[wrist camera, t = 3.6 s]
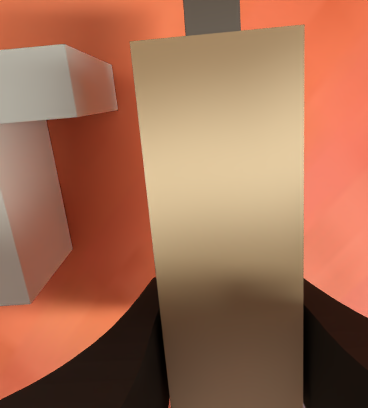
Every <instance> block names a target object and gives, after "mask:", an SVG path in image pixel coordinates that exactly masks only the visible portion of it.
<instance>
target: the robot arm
mask: <svg viewBox="0 0 368 408" xmlns="http://www.w3.org/2000/svg"><path fill="white" fill-rule="evenodd" d="M169 398H170V395H169V386H168V377H167V368H166V359H165V350H164V341H163V333H162V324H161V315H160V306H159V297H158V288H157V279H156V277H154V278H153V279H152V280H151V282H150V283H149V284H148V286H147V287H146V288H145V290H144V291H143V292H142V294H141V295H140V296H139V297H138V299H137V300H136V301H135V302H134V304H133V305H132V306H131V307H130V308H129V310H128V311H127V312H126V313H125V314H124V315H123V316H122V317H121V318H120V319H119V320H118V321H117V322H116V324H115V325H114V326H113V327H112V328H111V329H109V330H108V331H107V332H106V333H105V334H104V335H103V336H102V337H100V338H99V339H98V340H97V341H96V342H95V343H93V344H92V345H91V346H89V347H88V348H87V349H85V350H84V351H83V352H81V353H80V354H79V355H77V356H76V357H74V358H73V359H72V360H70V361H69V362H67V363H66V364H64V365H63V366H61V367H60V368H58V369H57V370H55V371H53V372H52V373H50V374H48V375H47V376H45V377H43V378H42V379H40V380H38V381H36V382H34V383H33V384H31V385H29V386H27V387H25V388H23V389H21V390H19V391H17V392H15V393H13V394H11V395H9V396H7V397H5V398H3V399H1V400H0V408H168V406H169ZM303 408H368V318H367V317H365V316H363V315H361V314H359V313H357V312H355V311H354V310H352V309H350V308H349V307H347V306H345V305H343V304H342V303H340V302H338V301H337V300H335V299H334V298H332V297H330V296H329V295H327V294H326V293H324V292H323V291H321V290H320V289H318V288H317V287H315V286H314V285H312V284H311V283H310V282H308V281H307V280H305V279H304V278H303Z"/></svg>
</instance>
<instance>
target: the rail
mask: <svg viewBox="0 0 368 408" xmlns="http://www.w3.org/2000/svg"><path fill="white" fill-rule="evenodd" d="M183 7H184V20H185V33H186V36H182V37H171V38H161V39H151V40H140V41H130V49H131V58H132V66H133V75H134V84H135V93H136V102H137V111H138V120H139V129H140V137H141V146H142V155H143V164H144V173H145V182H146V191H147V200H148V208H149V217H150V226H151V235H152V244H153V253H154V262H155V270H156V279H157V288H158V297H159V306H160V315H161V324H162V333H163V341H164V350H165V359H166V368H167V377H168V386H169V395H170V403H171V408H303V259H304V25H295V26H285V27H275V28H264V29H254V30H244V31H241V26H240V0H183Z"/></svg>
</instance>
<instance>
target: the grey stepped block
mask: <svg viewBox="0 0 368 408" xmlns="http://www.w3.org/2000/svg"><path fill="white" fill-rule="evenodd" d="M116 110H118V107H117V100H116V93H115V86H114V78H113V71H112V65H111V64H109V63H106V62H104V61H102V60H100V59H97V58H95V57H93V56H91V55H88V54H86V53H84V52H81V51H79V50H77V49H75V48H72V47H70V46H68V45H66V44H60V45H49V46H38V47H28V48H17V49H7V50H0V306H9V305H24V304H31V303H32V302H33V301H34V299H35V298H36V297H37V295H38V294H39V293H40V291H41V290H42V289H43V287H44V286H45V285H46V284H47V282H48V281H49V280H50V278H51V277H52V276H53V274H54V273H55V272H56V270H57V269H58V268H59V266H60V265H61V264H62V263H63V261H64V260H65V259H66V257H67V256H68V255H69V253H70V252H71V251H72V249H73V248H72V243H71V238H70V233H69V228H68V224H67V219H66V214H65V209H64V204H63V199H62V194H61V189H60V184H59V180H58V175H57V170H56V165H55V160H54V155H53V150H52V145H51V141H50V136H49V131H48V126H47V121H46V120H49V119H61V118H73V117H81V116H87V115H93V114H98V113H104V112H110V111H116Z"/></svg>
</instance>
